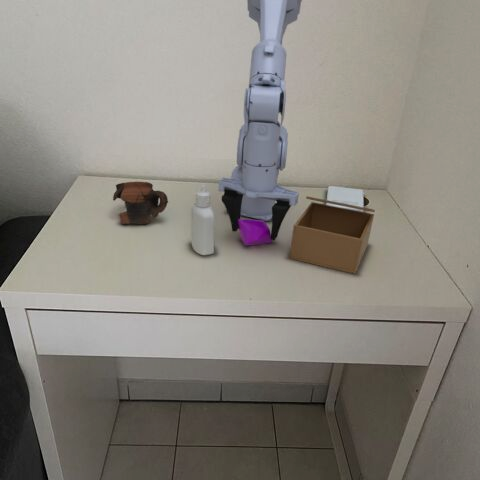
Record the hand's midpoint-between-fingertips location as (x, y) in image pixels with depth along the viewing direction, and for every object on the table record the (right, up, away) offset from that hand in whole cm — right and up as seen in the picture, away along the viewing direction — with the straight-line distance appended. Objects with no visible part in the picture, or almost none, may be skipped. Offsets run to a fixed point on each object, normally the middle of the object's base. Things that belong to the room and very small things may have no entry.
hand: (254, 233), depth 93 cm
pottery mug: (-23, +5, +8) cm, 25 cm away
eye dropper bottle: (-10, -3, -2) cm, 10 cm away
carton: (+14, -3, -1) cm, 14 cm away
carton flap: (+16, +5, -3) cm, 17 cm away
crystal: (0, -2, +1) cm, 2 cm away
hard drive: (+21, +10, +20) cm, 30 cm away
